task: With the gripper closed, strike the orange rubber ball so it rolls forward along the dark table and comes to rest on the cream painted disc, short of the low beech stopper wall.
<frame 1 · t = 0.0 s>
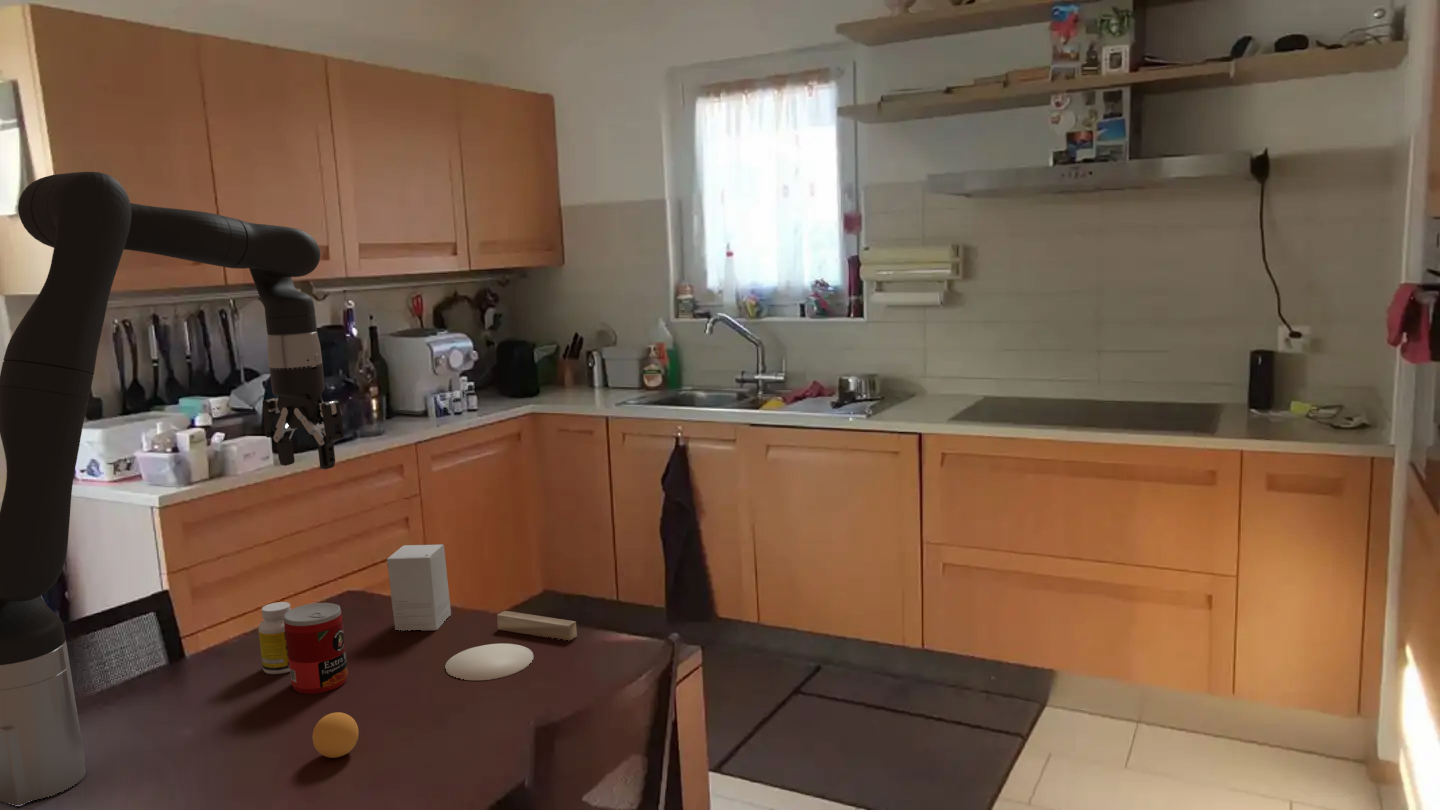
hand: (307, 466, 161), 29 cm above the table, tool pointing down, fingers open, 8 cm apart
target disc: (489, 661, 157), on the table
ball: (335, 734, 130), on the table
canned food: (320, 684, 152), on the table
supplement bottle: (282, 669, 158), on the table
stopper wall: (537, 632, 167), on the table
supplement box: (423, 624, 174), on the table
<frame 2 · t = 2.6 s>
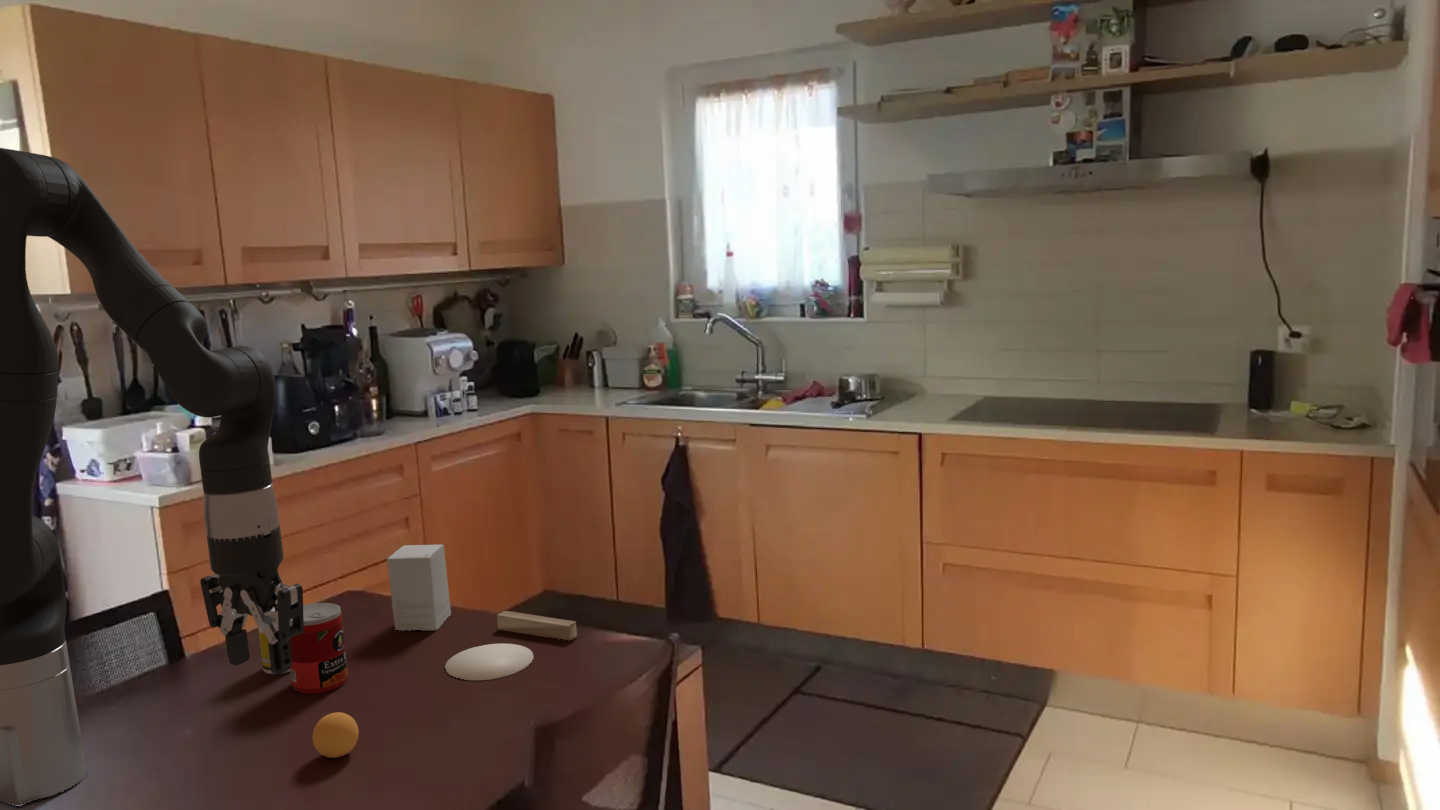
hand: (260, 666, 119), 16 cm above the table, tool pointing down, fingers open, 6 cm apart
nothing on the table moved.
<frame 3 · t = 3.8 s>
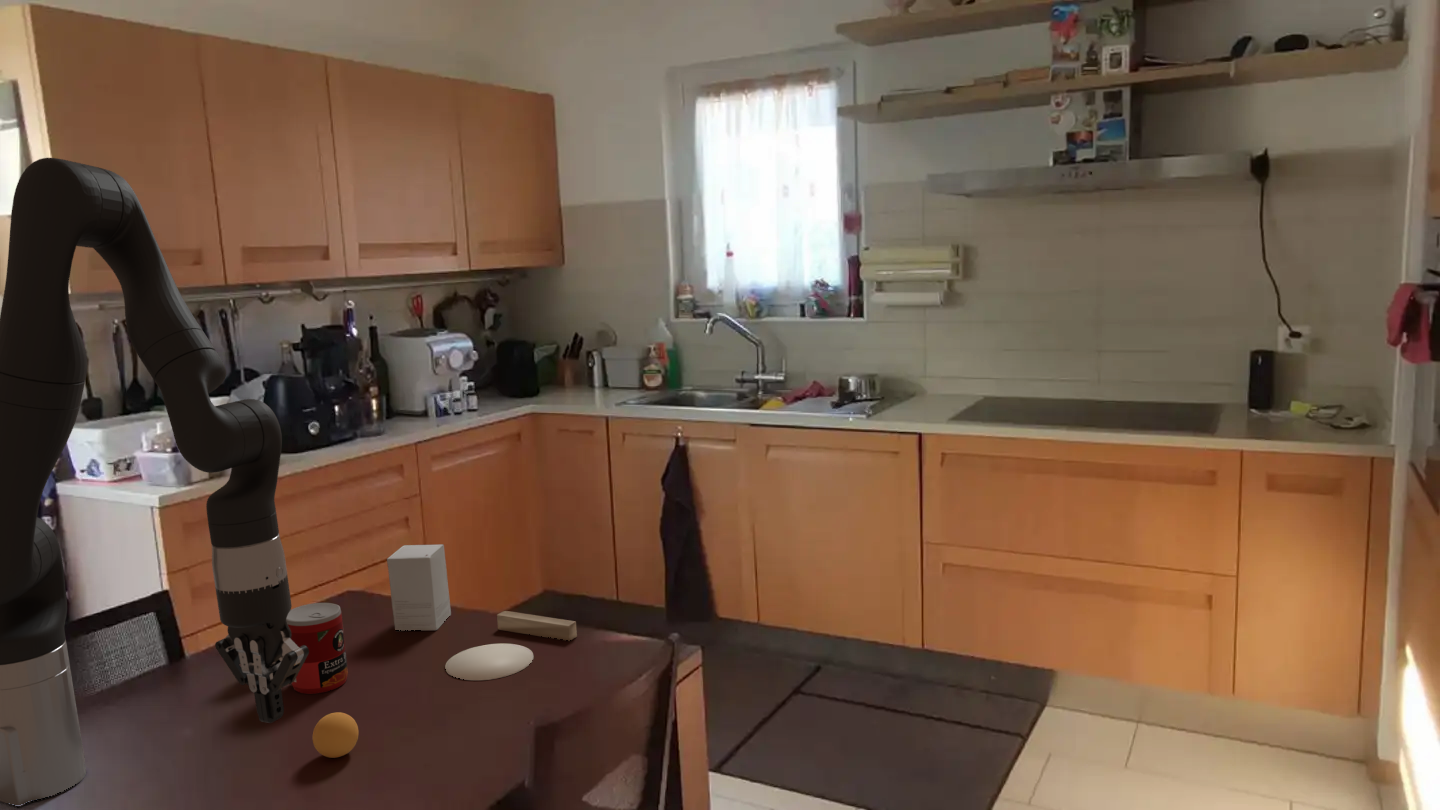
hand: (271, 719, 121), 9 cm above the table, tool pointing down, fingers closed
nothing on the table moved.
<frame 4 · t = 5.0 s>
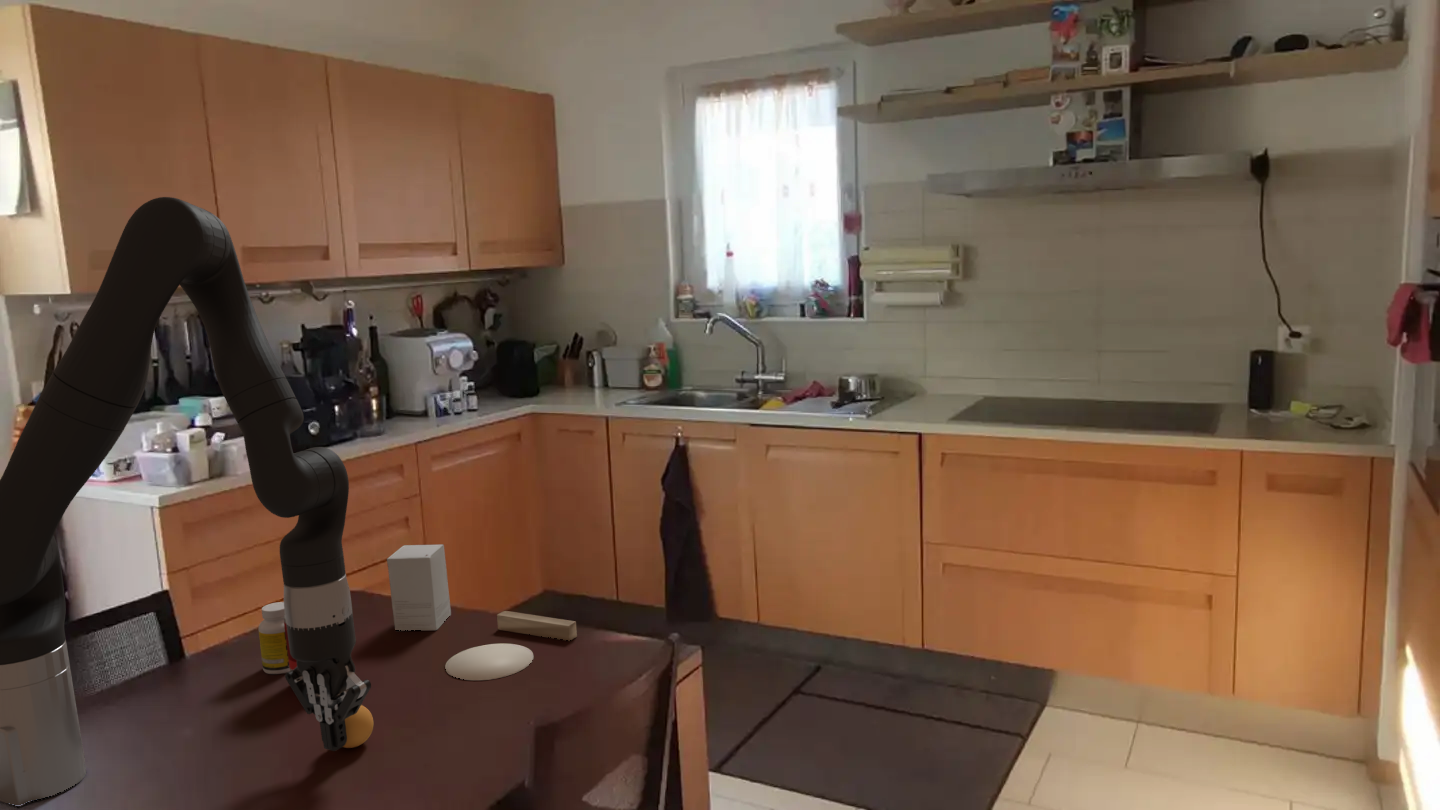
hand: (335, 747, 128), 2 cm above the table, tool pointing down, fingers closed
ball: (351, 725, 132), on the table, touching gripper
everything else where it was.
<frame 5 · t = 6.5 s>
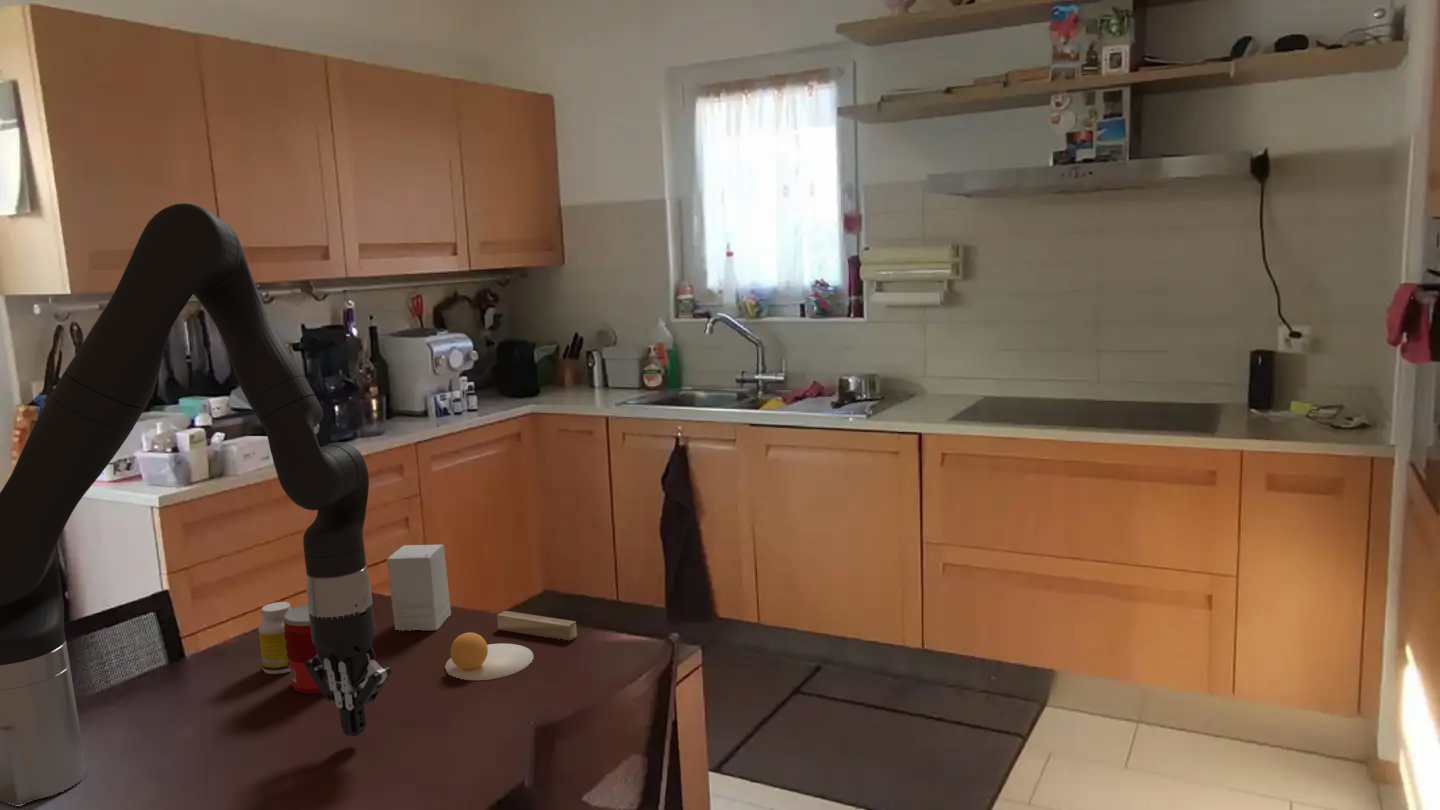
hand: (354, 733, 133), 2 cm above the table, tool pointing down, fingers closed
ball: (469, 651, 154), on the table
everything else where it was.
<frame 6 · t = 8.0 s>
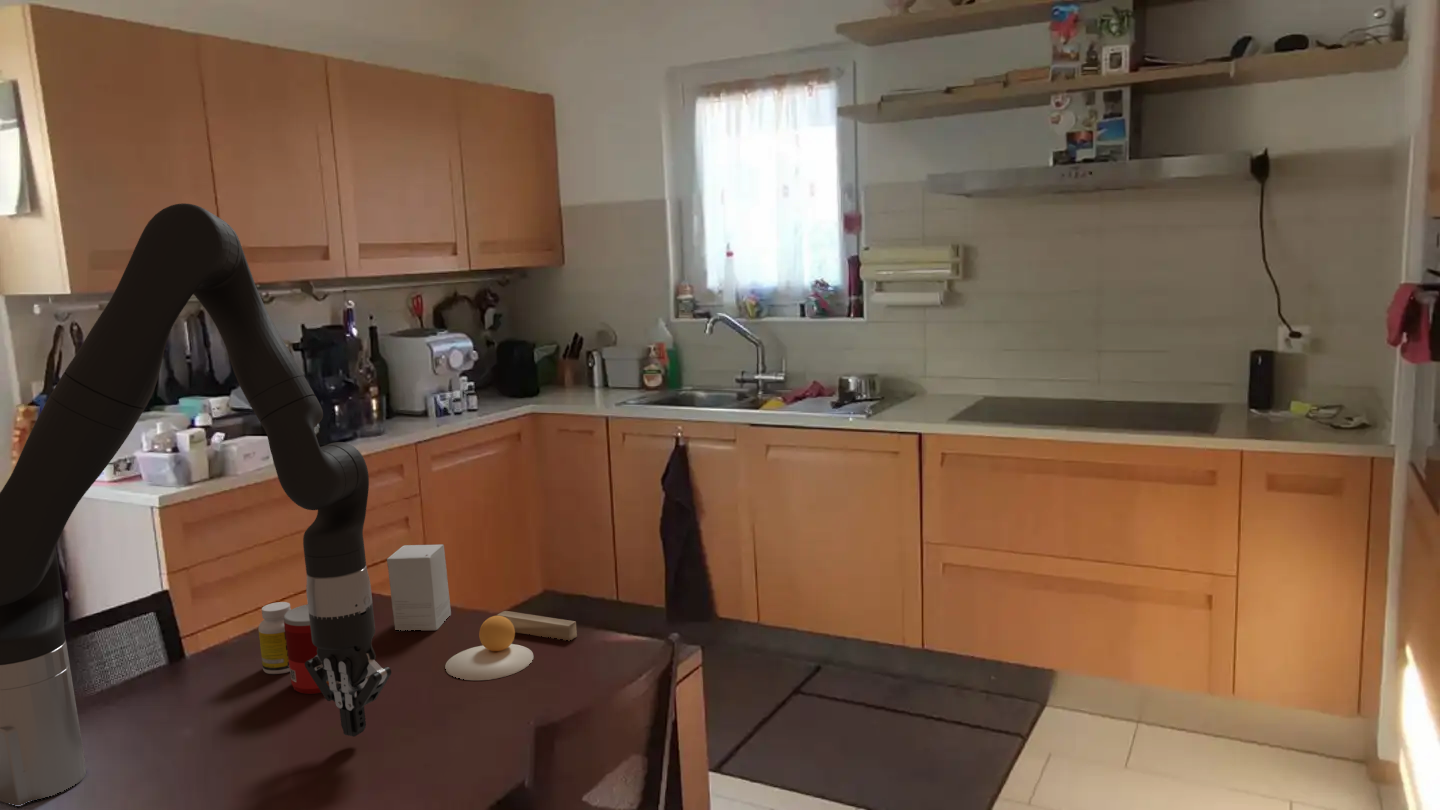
hand: (354, 733, 133), 2 cm above the table, tool pointing down, fingers closed
ball: (497, 633, 161), on the table
everything else where it was.
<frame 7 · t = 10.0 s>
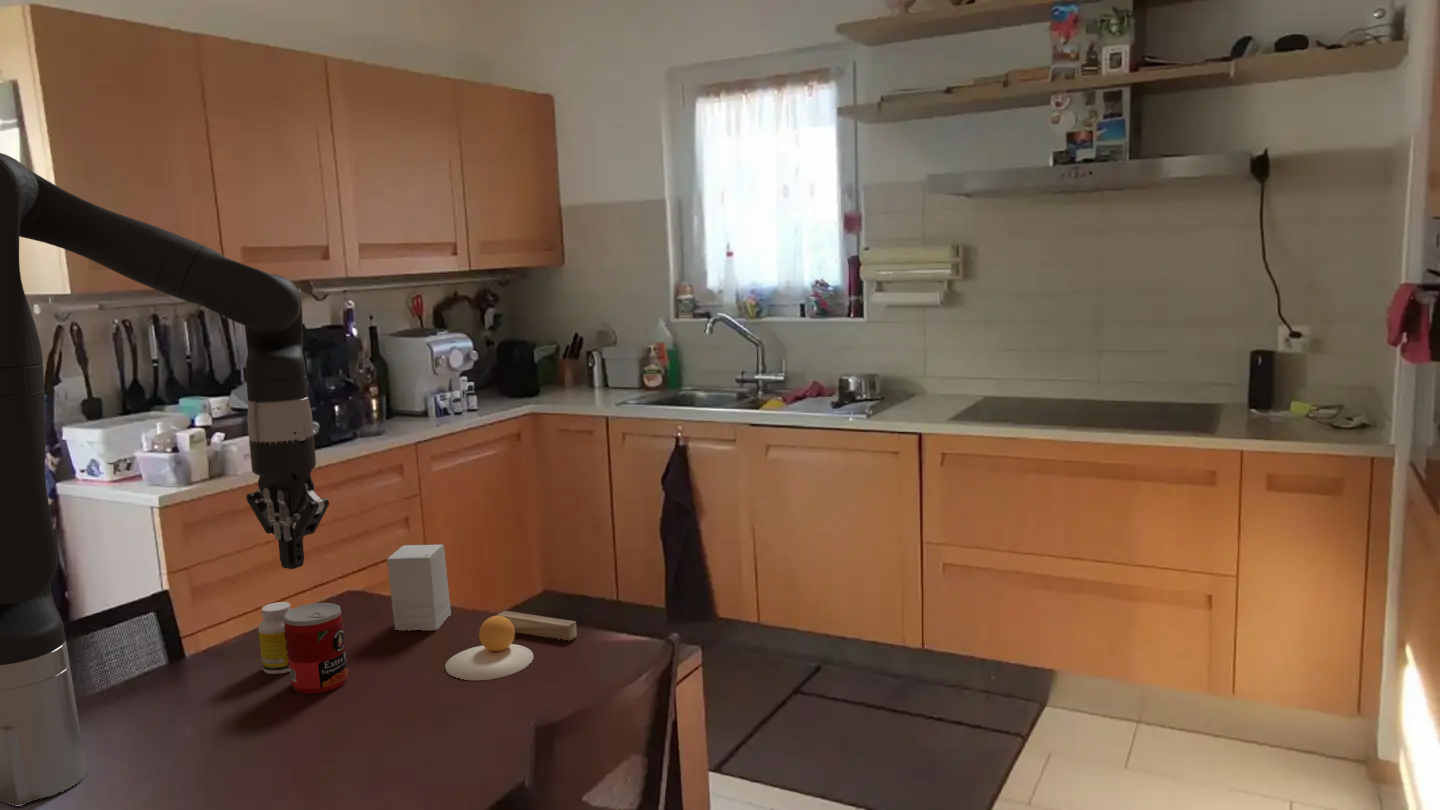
hand: (292, 567, 133), 22 cm above the table, tool pointing down, fingers closed
nothing on the table moved.
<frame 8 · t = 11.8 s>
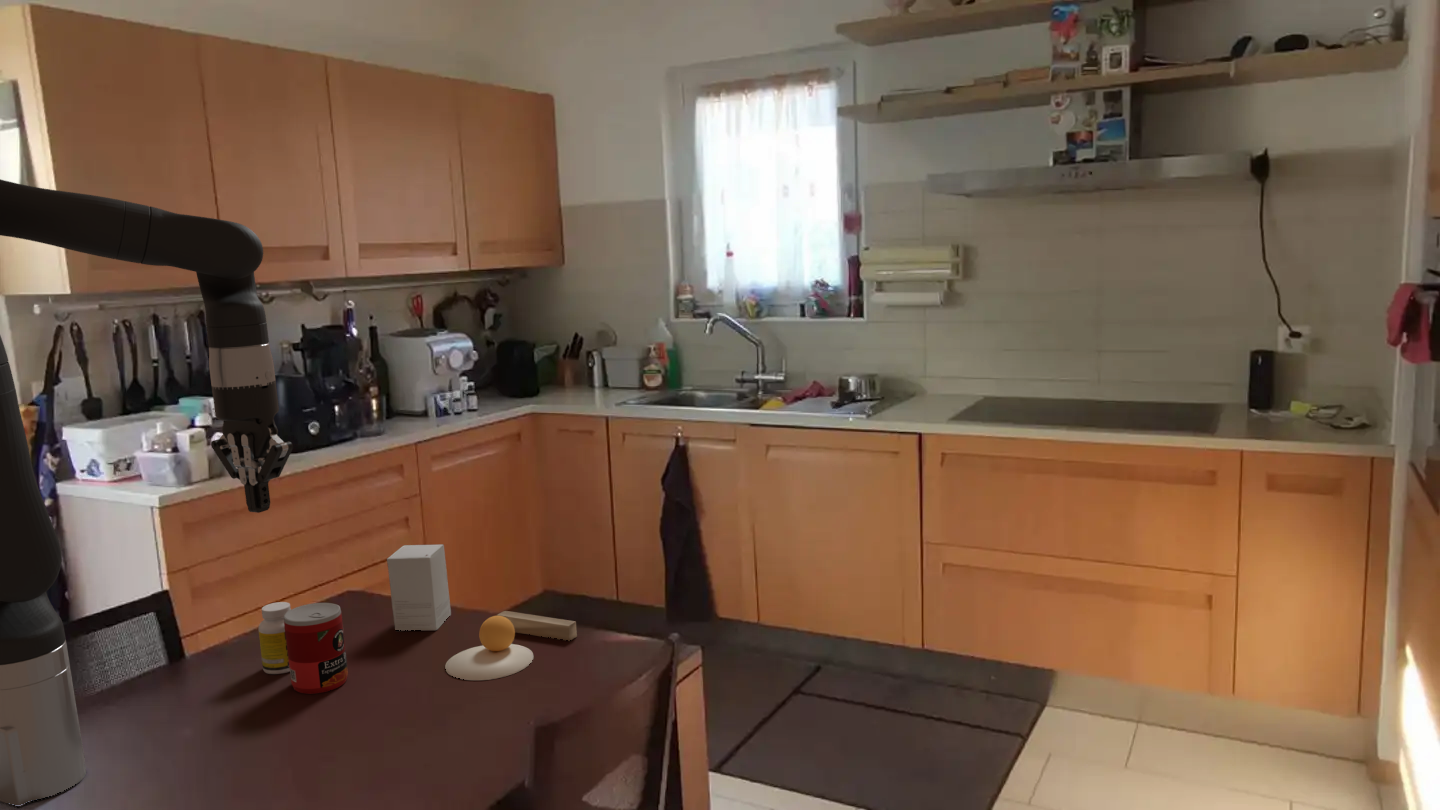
hand: (259, 510, 136), 29 cm above the table, tool pointing down, fingers closed
nothing on the table moved.
at the end: ball 4.4 cm from the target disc (horizontally); ball at rest at the end (0.0 cm/s); ball moved 34.2 cm from its start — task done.
